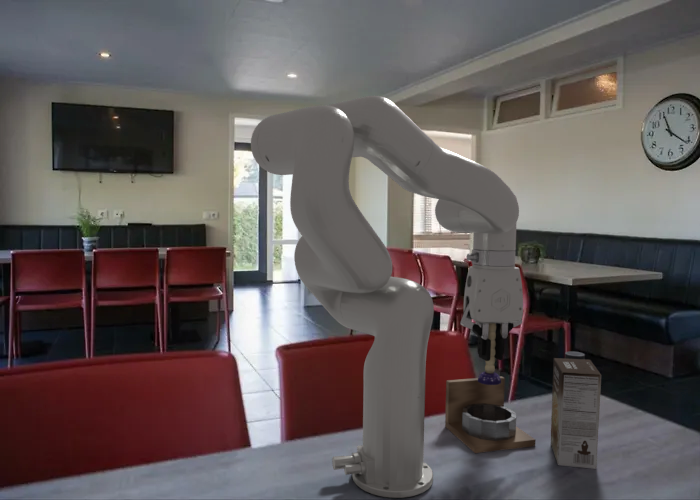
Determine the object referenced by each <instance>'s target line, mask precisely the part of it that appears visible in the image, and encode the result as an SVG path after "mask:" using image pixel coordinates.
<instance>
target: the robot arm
mask: <svg viewBox="0 0 700 500" xmlns="http://www.w3.org/2000/svg"><path fill="white" fill-rule="evenodd" d="M250 148H251V150H250V151H251V153H252V156H253V159H254V160H255V162H256V163H257V164H258V166H259V167H260V168H261V169H263V170H264V171H266V172H268V173H270V174H272V175H277V176H278V175H279V176H289V175H292V178H291V188H290V200H289V203H290V204H289V206H290V215H291V219H292V221H293V223H294V225H295V227H296V229H297V230H298V232H299V233H300V235H301V236H300V238H299V239H298V240H297V243H296V245H295V249H294V256H293V259H294V266H295V270H296V272H297V275H298V277H299V278H300V281H301V282H302V283H303V284H304V286H305V287H306V288H307V289H308V290H309V292H310V293H311V294H312V295H313V296H314V297H315V299H317V302H319V303H320V304H321V305H322V307H323V308H324V309H325V310H326V312H328V314H329V315H330V316H331V317H332V318H333V319H334V320H335V321H336V322H337V323H339V324H340V325H341V326H343V327H345V328H346V329H350V330H352V331H356V332H360V333H362V334H368V335H370V336H373V337H374V339H373V340H374V341H373V342H372V345H371V347H370V349H369V351H368V353H367V355H366V358H365V361H364V365H363V398H362V399H363V403H362V405H363V408H362V416H363V417H362V445H357V446H356V448H357V449H356V450H357V451H356V452H351V455H337V456H332V459H331V460H332V461H331V464H332V469H333V470H334V471H338V470H343V472H344V475H345V476H347V475H351V476H352V479H353V482H354V484H355V485H356V486H357V487H359V488H360V489H361V490H363V491H364V492H367V493H369V494H371V495H374V496H378V497H384V498H390V499H392V498H393V499H398V498H399V499H401V498H403V499H404V498H410V497H414V496H418V495H420V494H423V493H425V492H427V491H428V490H429V489H430V488H431V486H432V485H433V483H434V472H433V470H432V468H431V467H430V466H429V465H428V464H427V463H426V462H424V457H425V456H424V453H425V447H424V446H425V411H426V410H425V404H426V401H425V400H426V365H427V364H426V363H427V362H426V361H427V350H428V342H429V338H430V334H431V333H430V332H431V329H432V325H433V320H434V313H435V311H434V310H435V308H434V302H433V298H432V296H431V294H430V293H429V291H428V290H427V289H426V288H425V286H423V285H421V284H420V283H418V282H417V281H413V280H412V279H407V278H403V277H397V276H392V273H393V260H392V257H391V255H390V252H389V251H388V249H387V247H386V245H385V243H384V242H383V241H382V239H381V238H380V237H379V236H378V235H379V234H377V232H376V231H375V230H374V229H373V227H372V226H371V224H370V222H369V221H368V220H367V219H366V217H365V216H364V214H363V213H362V212H361V210H360V209H359V207H358V205H357V204H356V202H355V200H354V198H353V196H352V193H351V189H350V181H349V180H350V170H351V163H352V159H353V158H360V157H361V158H364V159H366V160H368V161H369V162H370V163H371V164H372V165H374V166H375V167H377V169H379V170H380V171H382V173H384V174H385V175H386V176H388V177H389V178H390V179H391V180H392V181H393V182H395V183H396V184H397V185H398V186H400V188H402V189H404V190H405V191H407V192H409V193H412V194H416V195H418V196H422V197H426V198H431V199H435V200H437V202H436V205H435V207H434V215H435V218H436V220H437V222H438V224H439V225H440V226H441V227H442V229H445V230H446V231H450V232H454V233H466V234H468V233H469V234H473V239H472V240H473V242H472V244H473V245H472V248H473V249H472V250H471V253H467V254H466V260H467V262H468V261H469V262H471V264H472V266H469V267H468V268H469V269H468V272H467V275H466V280H465V281H466V282H465V287H464V296H463V315H462V317H461V320H460V326H463V327H465V328H467V329H470V330H471V331H472V332H473V333H474V334H475V337H477V354H478V357H479V358H480V359H482V360H483V361H489V360H490V355H491V340H490V339H488V331H489V323H495V324H496V330H495V333H496V338H495V342H496V345H495V356H494V357H495V360H499V361H503V360H504V357H503V356H504V354H505V339H507V337H508V335H509V333H510V332H511V331H512V330H513V328H516V327H518V326H520V325H522V324H523V314H524V298H523V297H524V293H523V282H522V275H521V271H520V268H519V267H516V250H517V249H516V247H517V246H516V245H517V223H518V220H519V216H520V208H519V207H520V206H519V202H518V199H517V196H516V195H515V193H514V192H513V191H512V189H511V188H510V187H509V186H508V185H507V183H506V182H504V180H503V179H502V178H501V177H500V176H499V175H498V174H497V173H495V172H494V171H492V170H491V169H490V168H488V167H486V166H485V165H482V164H480V163H478V162H476V161H474V160H471V159H469V158H466V157H464V156H462V155H460V154H458V153H455V152H453V151H450V150H449V149H445V148H442V147H441V146H440V145H438V144H437V143H436V142H435V141H434V140H433V139H432V138H431V137H430V136H429V135H428V134H427V133H425V131H424V130H422V129H421V128H420V126H418V125H417V123H415V122H414V121H413V120H412V119H411V118H410V117H409V116H408V115H407V114H406V113H405V112H404V111H403V110H402V109H401V108H400V107H398V106H397V105H396V104H395V103H394V102H393V101H392V100H390V99H389V98H387V97H384V96H380V95H367V96H363V97H357V98H353V99H349V100H342V101H340V102H339V101H338V102H335V103H330V104H327V105H322V104H320V105H311V106H306V107H302V108H297V109H294V110H289V111H286V112H280V113H276V114H273V115H269V116H267V117H265V118H263V119H262V120H261V121H260V122H259V123H257V125H256V126H255V128H254V130H253V132H252V134H251V139H250ZM472 320H473V321H474V322H472Z"/></svg>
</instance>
